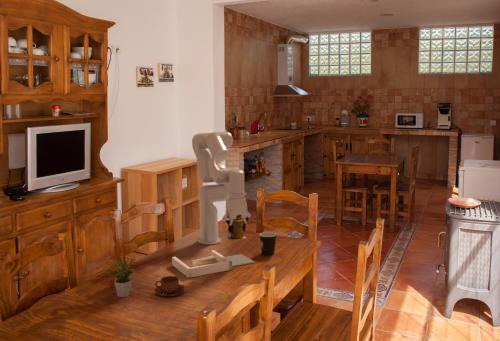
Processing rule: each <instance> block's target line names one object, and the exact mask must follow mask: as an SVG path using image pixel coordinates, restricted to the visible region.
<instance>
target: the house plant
mask: <svg viewBox="0 0 500 341" xmlns="http://www.w3.org/2000/svg"><path fill="white" fill-rule="evenodd" d="M138 257H140V256H139V255H138V256H135V257H134V258H132V257H131V258H129V259H128V260H127V258H125V259H124V257H123V255H120V263H119V262H117V261H115V260H112V259H109V261H110V262H111V263H113V265H115V266H113V268H115V267H116V268H115V269H116V270H117V271H116V270H114V269H112V268H109V267H105V266H104V267H103V269H105V270H107V271H109V272H108V273H107V274H106V276H108V275H114V276H115V277H116V279H114V285H115V291H116V294H117V297H119V298H125V297H128V296H130V294H131V289H132V281H133V280H132V278H131V277H130V276H131V275H134V276H135V274H136V272H135V271H136V269H134V268H132V267H133V263H134V261H135V260H136V259H137V258H138ZM128 262H129V263H128ZM127 264H128V266H127ZM134 270H135V271H134Z"/></svg>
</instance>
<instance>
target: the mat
mask: <svg viewBox="0 0 500 341" xmlns="http://www.w3.org/2000/svg"><path fill="white" fill-rule="evenodd" d="M225 257H226V258H228V259H229V260H231V261H232V268H236V267H240V266H246V265H250V264H251V265H252V264H255V263H256V261H255V260H252V259H251V258H249V257H248V256H246V255H244V254H242V253H240V254H233V255H229V256H225Z"/></svg>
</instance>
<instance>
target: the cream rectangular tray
mask: <svg viewBox="0 0 500 341" xmlns="http://www.w3.org/2000/svg"><path fill="white" fill-rule="evenodd" d="M210 256H214V257H216V260H218V263H213V264H208V265H202V266H197V267H192V266H191V267H190V266H189V265H187V264H186V263H184V262H183V261H181V259H180V258H178V257H176V256H173V257H171V265H172V266H173V267H174V268H175V269H176V270H178V272H180V273H182V275H184V276H185V275H186V276H185V277H186V278H188V279H189V277H190V278H194V277H201V276H205V275H210V274H215V273H222V272H225V271H226V272H227V271H231V270H233V267H232V261H231V260H229V259H228V258H226V257H227V256H224V255H222V254H221V253H220V252H217V250H215V249H211V250H210Z"/></svg>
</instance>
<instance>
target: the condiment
mask: <svg viewBox="0 0 500 341" xmlns="http://www.w3.org/2000/svg"><path fill="white" fill-rule="evenodd" d="M232 225H233V233H232V234H231V233H230V235H229V236H226V237H225V236H224V238H225V239H227V240H229V241H233V242H235V241H239V240H243V239H247V236H244V231H243V219H242V215H237V216H236V219H234V220H233V223H232Z"/></svg>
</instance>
